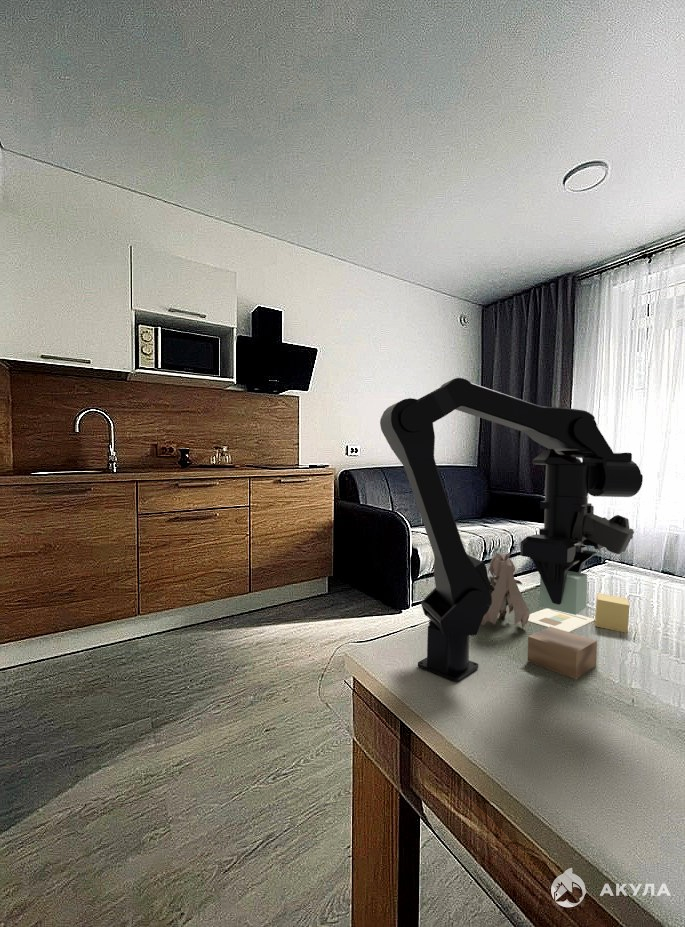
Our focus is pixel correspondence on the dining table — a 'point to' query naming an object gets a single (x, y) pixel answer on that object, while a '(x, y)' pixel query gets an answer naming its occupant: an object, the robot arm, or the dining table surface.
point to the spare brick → (612, 612)
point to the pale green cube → (567, 594)
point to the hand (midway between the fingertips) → (562, 600)
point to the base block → (562, 651)
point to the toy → (505, 591)
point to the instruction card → (559, 619)
